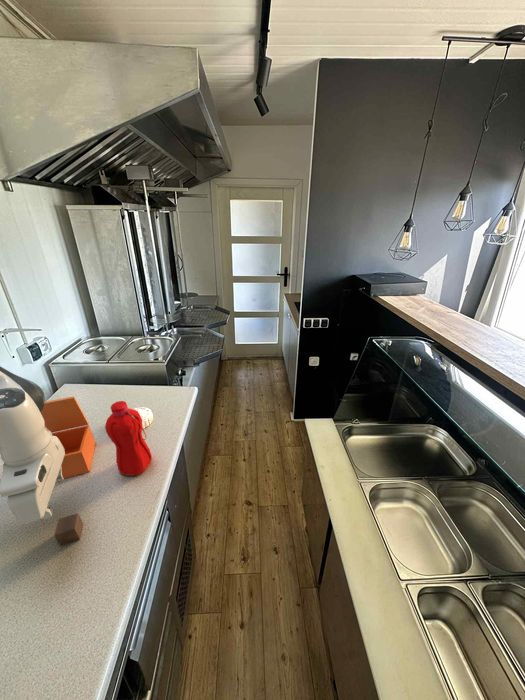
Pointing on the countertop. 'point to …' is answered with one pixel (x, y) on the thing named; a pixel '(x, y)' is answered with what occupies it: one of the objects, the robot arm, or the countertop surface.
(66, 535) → the block
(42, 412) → the box lid
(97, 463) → the countertop surface
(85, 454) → the box
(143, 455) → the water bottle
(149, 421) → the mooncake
